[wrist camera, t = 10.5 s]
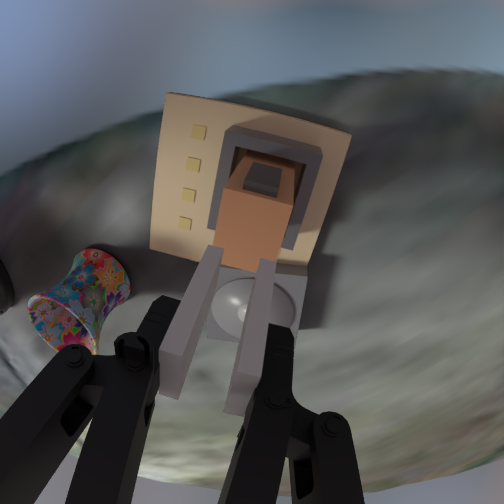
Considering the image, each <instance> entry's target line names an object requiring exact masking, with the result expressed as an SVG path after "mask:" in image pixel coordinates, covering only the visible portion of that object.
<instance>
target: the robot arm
mask: <svg viewBox="0 0 504 504" xmlns="http://www.w3.org/2000/svg"><path fill="white" fill-rule="evenodd" d="M223 252H224V248H220V247H216V246H212V245H208V246H207V248H206V250H205V252H204V254H203V256H202V258H201V261H200V263H199V265H198V267H197V269H196V271H195V273H194V275H193V277H192V279H191V281H190V283H189V285H188V288H187V290H186V292H185V294H184V296H183V298H182V300H181V301H180V300H177V299H174V298H170V297H167V296H163V295H162V296H161V297H159V298H158V299H156V300H155V301H153V303H152V305H151V306H150V308H149V310H148V313H147V314H146V315H145V317H144V320H143V321H142V323H141V324H140V326H139V328H138V330H137V332H128V333H124V334H122V335H120V336H119V337H117V339H116V340H115V341H114V347H115V354H116V355H112V356H104V355H92V353H91V351H90V350H89V349H88V348H87V347H86V346H83V345H81V344H70V345H67V346H65V347H64V348H62V349H61V350H60V351H59V352H58V353H57V354H56V355H55V356H54V357H53V359H52V360H51V361H50V362H49V363H48V364H47V365H46V366H45V367H44V369H43V370H42V371H41V372H40V373H39V374H38V375H37V376H36V378H35V379H34V380H33V381H32V382H31V383H30V384H29V386H28V387H27V388H26V389H25V390H24V391H23V393H22V394H21V395H20V396H19V397H18V398H17V400H16V401H15V402H14V403H13V404H12V406H11V407H10V408H9V409H8V410H7V412H6V413H5V414H4V415H3V417H2V418H1V419H0V504H34V503H35V501H36V500H37V498H38V497H39V495H40V494H41V492H42V491H43V489H44V488H45V486H46V485H47V483H48V481H49V480H50V479H51V477H52V476H53V474H54V473H55V471H56V470H57V468H58V467H59V465H60V464H61V462H62V461H63V459H64V458H65V457H66V455H67V454H68V452H69V451H70V449H71V448H72V446H73V445H74V443H75V442H76V441H77V439H78V438H79V436H80V435H81V433H82V432H83V431H84V429H85V428H86V426H87V425H88V423H89V422H90V421H91V419H92V421H91V424H90V427H89V430H88V432H87V435H86V438H85V441H84V444H83V447H82V450H81V453H80V456H79V459H78V462H77V465H76V469H75V472H74V475H73V478H72V481H71V485H70V488H69V491H68V495H67V498H66V502H65V504H131V501H132V497H133V492H134V488H135V483H136V478H137V474H138V470H139V466H140V462H141V457H142V453H143V449H144V445H145V441H146V437H147V433H148V429H149V425H150V421H151V417H152V414H153V410H154V406H155V396H156V394H157V391H158V389H159V394H161V395H164V396H167V397H171V398H174V399H177V400H178V399H179V396H180V393H181V390H182V387H183V384H184V381H185V378H186V375H187V372H188V369H189V366H190V364H191V361H192V358H193V355H194V352H195V349H196V346H197V343H198V341H199V338H200V335H201V332H202V329H203V326H204V323H205V321H206V318H207V315H208V312H209V309H210V306H211V304H212V301H213V298H214V295H215V292H216V287H217V282H218V277H219V272H220V267H221V262H222V257H223ZM275 270H276V262H274V261H270V260H266V259H262V258H260V262H259V265H258V269H257V272H256V276H255V279H254V283H253V287H252V290H251V294H250V297H249V301H248V305H247V309H246V314H245V318H244V323H243V328H242V332H241V337H240V341H239V346H238V350H237V355H236V359H235V363H234V368H233V372H232V377H231V381H230V386H229V390H228V395H227V399H226V404H225V408H224V412H226V413H230V414H234V415H238V416H243V417H244V415H245V418H244V423H243V425H242V427H241V429H240V431H239V434H238V436H237V437H238V440H237V443H236V446H235V450H234V453H233V456H232V459H231V463H230V466H229V469H228V472H227V476H226V479H225V482H224V485H223V488H222V491H221V494H220V498H219V501H218V504H276V499H277V495H278V491H279V486H280V481H281V477H282V472H283V467H284V462H285V457H287V458H288V459H289V471H290V483H291V496H292V504H365V503H364V497H363V491H362V486H361V480H360V475H359V469H358V464H357V459H356V454H355V449H354V444H353V439H352V434H351V429H350V426H349V424H348V421H347V420H346V419H345V418H344V417H343V416H342V415H340V414H338V413H336V412H330V411H328V412H323V413H321V414H320V415H318V414H316V413H314V412H312V411H310V410H308V409H306V408H304V407H302V406H301V405H300V404H299V403H298V402H297V401H296V399H295V398H294V396H293V393H292V376H293V357H294V339H295V338H294V336H293V334H292V331H291V329H290V328H288V327H283V326H279V325H275V324H271V323H269V316H270V309H271V301H272V294H273V286H274V278H275ZM13 301H14V291H13V287H12V284H11V281H10V278H9V276H8V274H7V272H6V270H5V268H4V266H3V265H2V263H1V261H0V315H2V314H3V313H5V312H6V311H7V310H8V309H9V308H10V306H11V305H12V304H13Z"/></svg>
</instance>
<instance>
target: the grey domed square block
mask: <svg viewBox="0 0 504 504" xmlns="http://www.w3.org/2000/svg"><path fill="white" fill-rule="evenodd" d="M255 276H256V273H254V272H250V271H246V270H242V269H238V268H235V267H231V266H227V265H223V264H221V267H220V272H219V277H218V282H217V287H216V292H215V295H214V298H213V301H212V304H211V306H210V309H209V312H208V315H207V318H206V332H207V338H211V339H218V340H225V341H232V342H239V341H240V337H241V332H242V328H243V323H244V318H245V314H246V309H247V305H248V301H249V297H250V294H251V290H252V287H253V283H254V279H255ZM307 279H308V265H307V266H302V265H292V264H283V263H276V270H275V278H274V286H273V294H272V301H271V309H270V316H269V323H271V324H275V325H279V326H283V327H288V328H290V329H291V331H292V334H293V336H294V338H295V339H294V349H295V344H296V339H297V334H298V328H299V323H300V318H301V313H302V307H303V302H304V296H305V290H306V285H307Z"/></svg>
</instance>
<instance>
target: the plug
mask: <svg viewBox="0 0 504 504" xmlns="http://www.w3.org/2000/svg"><path fill="white" fill-rule="evenodd" d="M294 170H295V161H293V160H289V159H286V158H282V157H278V156H274V155H270V154H266V153H262V152H258V151H254V150H250V149H248V150H247V152H246V153H245V155H244V157H243V158H242V160H241V161H240V163H239V164H238V166H237V167H236V169H235V171H234V172H233V174H232V175H231V177H230V178H229V180H228V182H227V183H226V185H225V186H224V188H223V193H222V198H221V203H220V208H219V213H218V219H217V224H216V229H215V235H214V240H213V245H212V246H216V247H220V248H224V252H223V257H222V262H221V264H223V265H227V266H231V267H235V268H238V269H242V270H246V271H250V272H254V273H256V272H257V269H258V265H259V262H260V258H262V259H266V260H270V261H274V262H276V260H277V257H278V254H279V251H280V248H281V244H282V241H283V238H284V235H285V231H286V228H287V225H288V222H289V218H290V215H291V212H292V209H293V201H294Z"/></svg>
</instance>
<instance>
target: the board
mask: <svg viewBox="0 0 504 504" xmlns="http://www.w3.org/2000/svg"><path fill="white" fill-rule="evenodd" d="M351 138H352V136H351V134H349V133H346V132H343V131H340V130H337V129H334V128H330V127H327V126H324V125H320V124H317V123H314V122H310V121H307V120H303V119H299V118H296V117H292V116H288V115H284V114H280V113H276V112H272V111H268V110H264V109H260V108H255V107H251V106H246V105H241V104H237V103H232V102H227V101H222V100H216V99H211V98H205V97H199V96H193V95H187V94H180V93H173V92H170V93H167V94H166V98H165V104H164V111H163V118H162V124H161V132H160V139H159V147H158V155H157V164H156V173H155V183H154V193H153V205H152V218H151V233H150V249H152V250H156V251H160V252H163V253H167V254H171V255H174V256H178V257H182V258H185V259H189V260H193V261H197V262H200V261H201V258H202V256H203V254H204V252H205V250H206V248H207V246H208V245H213V240H214V235H215V229H216V224H217V219H218V213H219V208H220V203H221V198H222V193H223V188H224V186H225V185H226V183H227V182H228V180H229V178H230V177H231V175H232V174H233V172H234V171H235V169H236V167H237V166H238V164H239V163H240V161H241V160H242V158H243V157H244V155H245V153H246V152H247V150H248V149H250V150H254V151H258V152H262V153H266V154H270V155H274V156H278V157H282V158H286V159H289V160H293V161H295V170H294V201H293V209H292V212H291V215H290V218H289V222H288V225H287V228H286V231H285V235H284V238H283V241H282V244H281V248H280V251H279V254H278V257H277V260H276V263H283V264H292V265H302V266H307V265H308V262H309V260H310V257H311V254H312V251H313V249H314V246H315V243H316V241H317V238H318V235H319V232H320V230H321V227H322V224H323V221H324V218H325V216H326V213H327V210H328V207H329V204H330V201H331V198H332V195H333V192H334V190H335V187H336V184H337V181H338V178H339V175H340V172H341V169H342V166H343V163H344V159H345V156H346V153H347V150H348V147H349V144H350V141H351Z"/></svg>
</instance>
